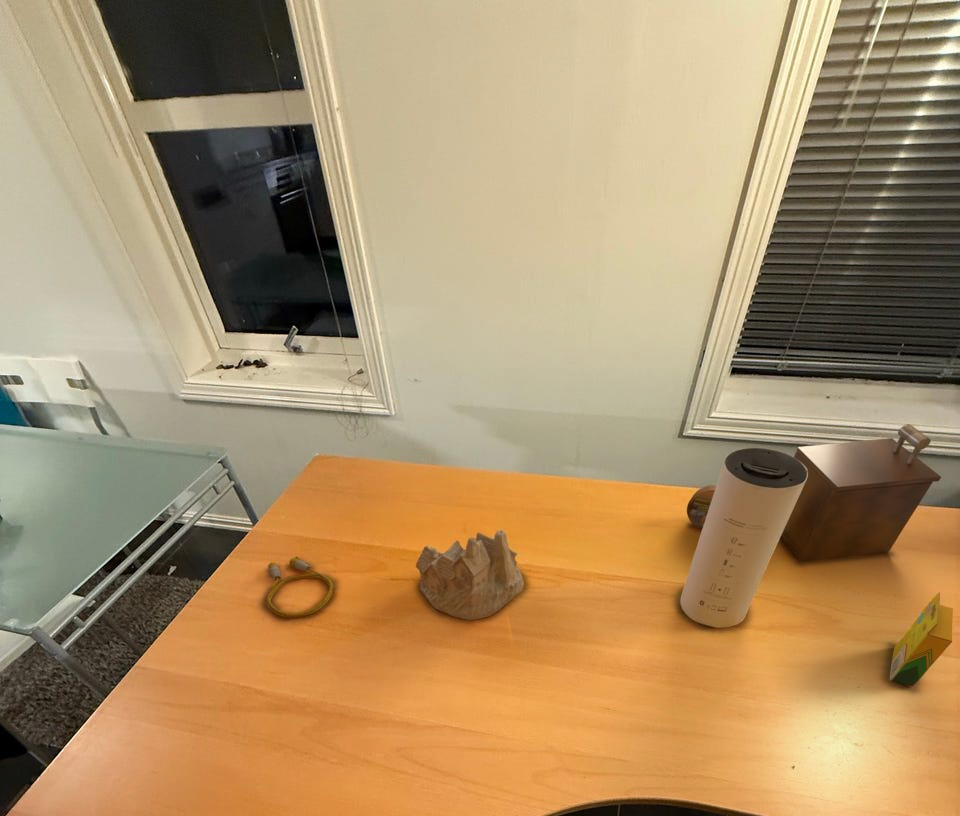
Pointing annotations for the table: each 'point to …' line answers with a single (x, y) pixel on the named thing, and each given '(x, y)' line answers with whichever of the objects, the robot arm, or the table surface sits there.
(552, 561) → the table surface
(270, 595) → the extension cord
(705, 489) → the tin
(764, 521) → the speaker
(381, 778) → the table surface
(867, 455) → the lid
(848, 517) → the chest
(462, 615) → the ceramic cottage
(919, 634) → the crayon box
